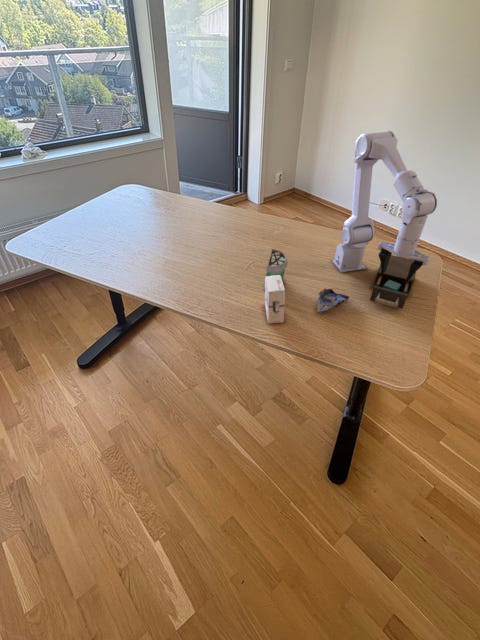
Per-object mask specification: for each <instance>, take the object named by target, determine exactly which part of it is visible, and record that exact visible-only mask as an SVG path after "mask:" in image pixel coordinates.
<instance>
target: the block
mask: <svg viewBox="0 0 480 640" xmlns="http://www.w3.org/2000/svg"><path fill="white" fill-rule="evenodd" d="M400 287H401V284H399V283H397V282H394V281H391V280H388V281H387V282H386V283H385V284H384V286H383V288H387V289H391V290H395V291H399V290H400Z"/></svg>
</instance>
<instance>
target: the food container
mask: <svg viewBox="0 0 480 640" xmlns="http://www.w3.org/2000/svg"><path fill="white" fill-rule="evenodd" d="M287 267H288V257H287V255H286V254H285V253H284V252H283V251H281V250H279V249H275V248H271V253H270V257H269V260H268V264H267V266H266V276H275V275H280V276H281V278H282V281H283V282H284V276H285V270H286V268H287Z"/></svg>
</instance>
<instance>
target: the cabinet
mask: <svg viewBox="0 0 480 640" xmlns="http://www.w3.org/2000/svg"><path fill="white" fill-rule="evenodd" d="M413 262H414V260H411V259H408V258H402V257H399V256H396V255H394V254H391V257H390V259H389V262H388V266H387V269H386V271H385V272H384V273H383V274H382V273H381V263H380V264H379V267H378V269H377V272H376V274H375V278H374V281H373V285H372V288H373V287H374V285H375V286H376V284H377V282H378V279H379V277H380V274H381V275H385V276H390V277H394V278H398V279H402V280H406V278H407V276H408V274H409V270H410V265H411V264H412V263H413ZM416 274H417V271H416V272H415V273H414V275H413V276H412V277H411V279H410V282H409V285H408V289H407V292H406V294H408V296H407V298H409V295H410V292H411V290H412V287H413V285H414V282H415V278H416Z"/></svg>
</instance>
